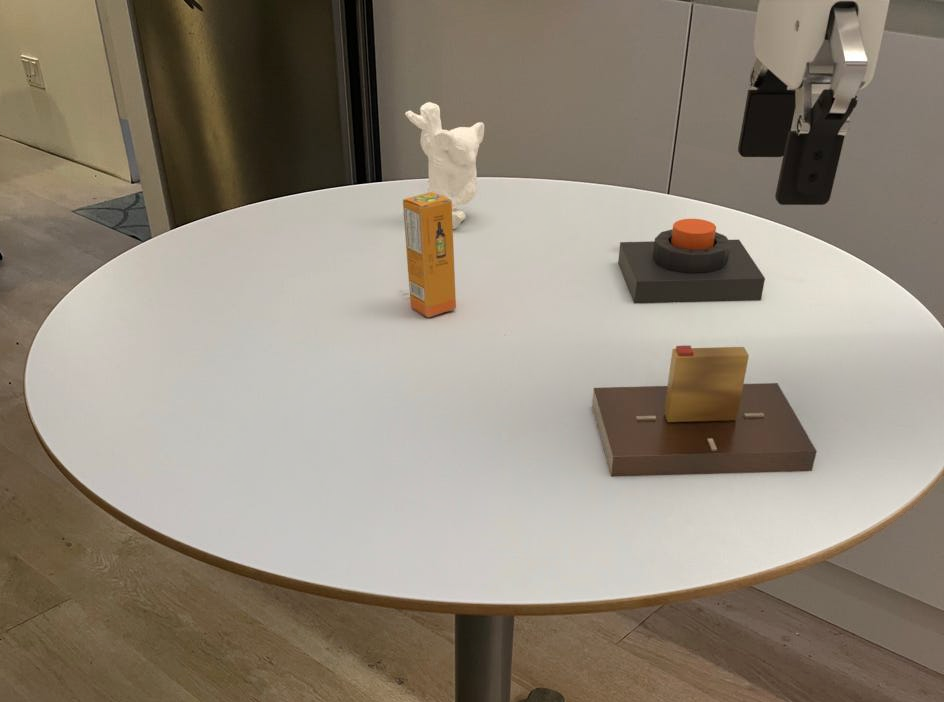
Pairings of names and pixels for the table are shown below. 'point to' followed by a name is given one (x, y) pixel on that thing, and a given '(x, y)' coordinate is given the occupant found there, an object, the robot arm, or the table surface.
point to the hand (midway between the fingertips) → (780, 178)
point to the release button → (693, 234)
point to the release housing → (689, 271)
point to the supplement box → (430, 253)
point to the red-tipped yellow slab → (705, 384)
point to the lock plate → (700, 435)
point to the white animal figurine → (449, 157)
